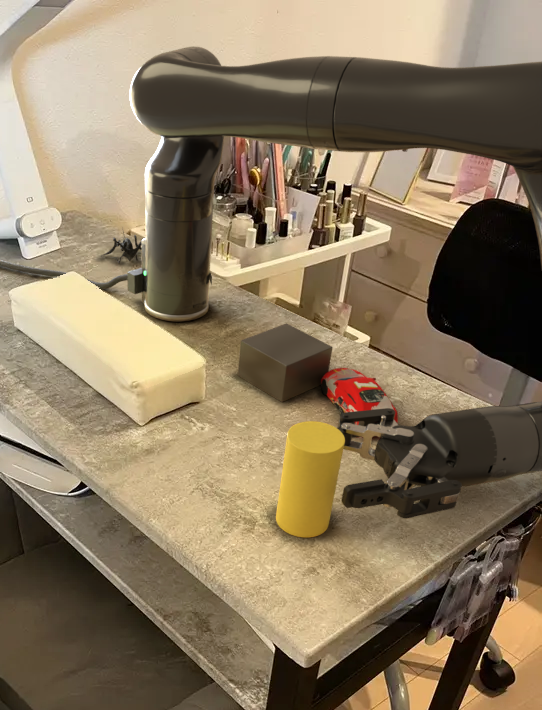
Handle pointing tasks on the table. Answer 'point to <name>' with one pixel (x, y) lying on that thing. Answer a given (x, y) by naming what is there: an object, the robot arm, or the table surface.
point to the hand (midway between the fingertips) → (324, 469)
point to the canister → (309, 478)
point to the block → (284, 361)
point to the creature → (126, 248)
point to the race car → (354, 391)
